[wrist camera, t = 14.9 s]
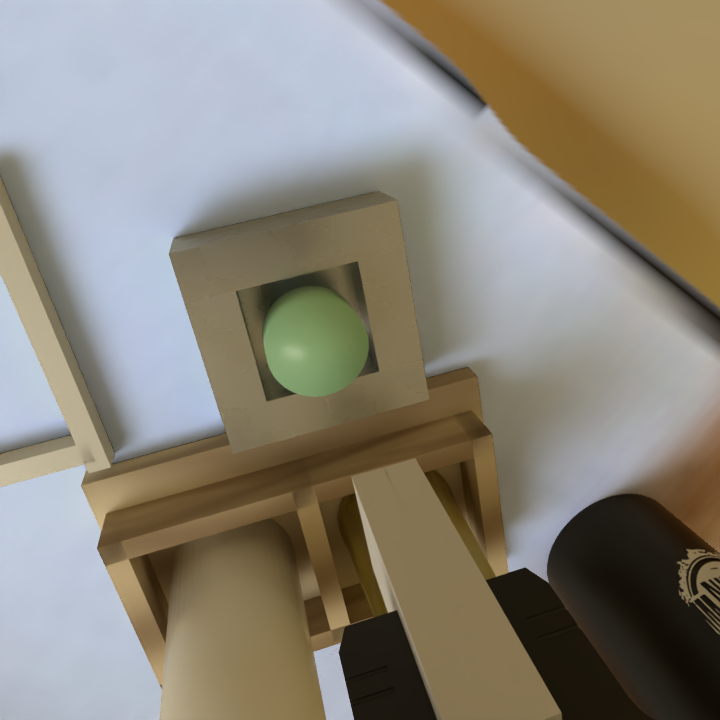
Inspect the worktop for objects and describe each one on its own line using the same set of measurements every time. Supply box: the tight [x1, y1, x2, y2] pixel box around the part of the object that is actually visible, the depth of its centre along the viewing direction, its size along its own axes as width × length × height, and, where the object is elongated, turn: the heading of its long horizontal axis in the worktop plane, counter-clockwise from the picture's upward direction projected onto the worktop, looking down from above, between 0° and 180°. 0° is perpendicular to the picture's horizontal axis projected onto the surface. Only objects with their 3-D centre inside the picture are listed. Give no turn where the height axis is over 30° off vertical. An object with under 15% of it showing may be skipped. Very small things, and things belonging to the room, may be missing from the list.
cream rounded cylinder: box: [159, 518, 326, 720], centre depth 25 cm, size 6×6×14 cm
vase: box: [338, 470, 496, 617], centre depth 26 cm, size 6×6×14 cm
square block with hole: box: [169, 191, 429, 454], centre depth 27 cm, size 9×9×3 cm
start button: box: [262, 286, 369, 397], centre depth 25 cm, size 4×4×2 cm
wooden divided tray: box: [81, 367, 508, 688], centre depth 31 cm, size 13×19×4 cm
